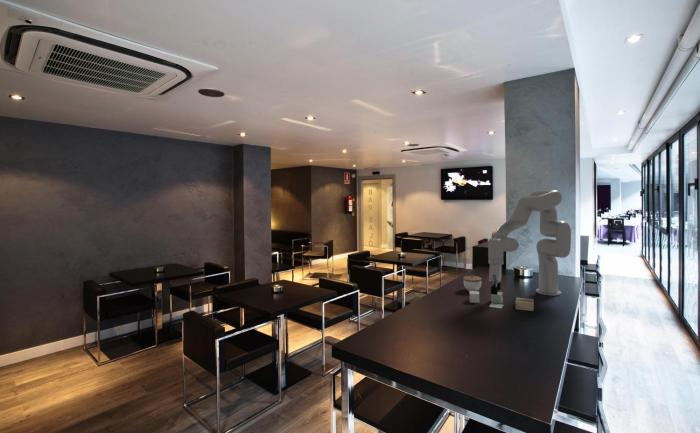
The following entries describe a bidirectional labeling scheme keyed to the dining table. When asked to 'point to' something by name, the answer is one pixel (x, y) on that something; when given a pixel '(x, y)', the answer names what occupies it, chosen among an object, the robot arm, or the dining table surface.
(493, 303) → the sage swatch
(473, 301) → the offwhite cube
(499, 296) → the sage cube
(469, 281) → the lidded jar
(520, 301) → the tan square block
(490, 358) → the dining table surface
